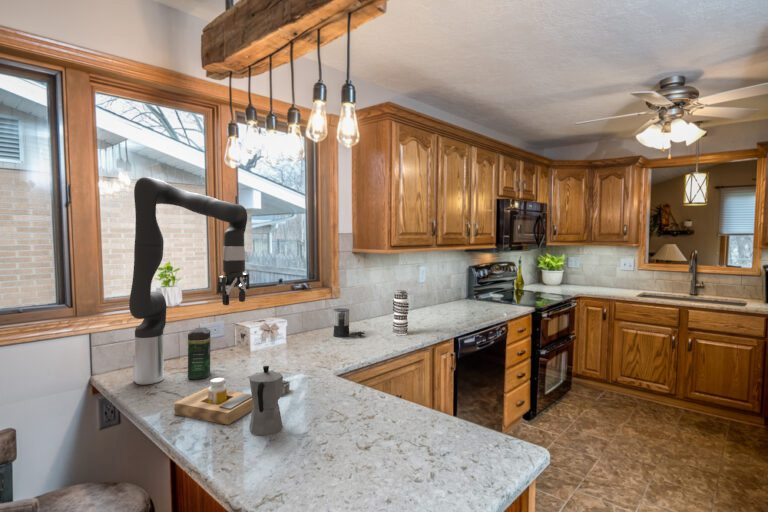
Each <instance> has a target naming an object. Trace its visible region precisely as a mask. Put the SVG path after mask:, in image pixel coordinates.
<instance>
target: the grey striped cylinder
mask: <svg viewBox="0 0 768 512" xmlns="http://www.w3.org/2000/svg"><path fill="white" fill-rule="evenodd" d="M408 293H409V292H407V291H406V289H405V290H403V289H400V290H398V289H397V290H396V291H395V292H393V294H394V298H393V300H392V305H393V306H392V311H393V312H392V314H393V321H392V323H393V324H392V326H393V328H392V333H395V334H406V333H408V332H409V328H408V327H409V325H408V324H409V322H408V320H409V319H408V314H409V309H408V308H409V307H410V306H409V305H410V304H409V303H408V301H409V299H408Z"/></svg>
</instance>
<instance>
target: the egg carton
mask: <svg viewBox="0 0 768 512" xmlns="http://www.w3.org/2000/svg"><path fill="white" fill-rule="evenodd" d="M291 383H292V380H284V379H283V380H282V386H281V393H280V396H284V395H285V393H287V392H290V391H291V389H290V387H291V386H290V385H291Z"/></svg>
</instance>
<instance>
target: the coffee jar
mask: <svg viewBox="0 0 768 512" xmlns="http://www.w3.org/2000/svg"><path fill="white" fill-rule="evenodd" d="M210 374H211V330H210V329H209V328H207V327H195V328H194V329H191V331H189V332H188V333H187V378H188V379H192V380H200V379H203V378H208V376H209V375H210Z"/></svg>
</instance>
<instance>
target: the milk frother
mask: <svg viewBox="0 0 768 512" xmlns="http://www.w3.org/2000/svg"><path fill="white" fill-rule="evenodd" d="M350 310H351V309H349V308H343V307H342V308H338V307H337V308H333V337H335V338H347V336H348V337H350V336H358V337H361V336H362V335H365V332H364V331H363V332H362V331H361V330H360V331H357V332H356V331H355V332H352V333H350ZM349 335H350V336H349Z"/></svg>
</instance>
